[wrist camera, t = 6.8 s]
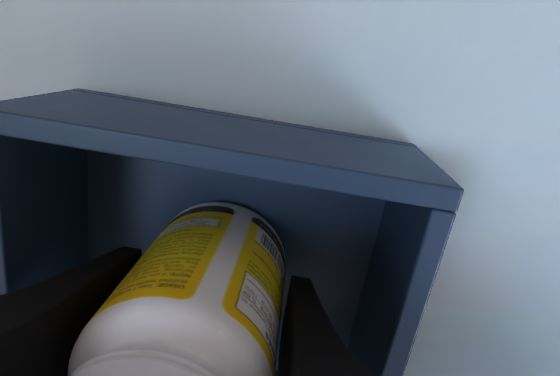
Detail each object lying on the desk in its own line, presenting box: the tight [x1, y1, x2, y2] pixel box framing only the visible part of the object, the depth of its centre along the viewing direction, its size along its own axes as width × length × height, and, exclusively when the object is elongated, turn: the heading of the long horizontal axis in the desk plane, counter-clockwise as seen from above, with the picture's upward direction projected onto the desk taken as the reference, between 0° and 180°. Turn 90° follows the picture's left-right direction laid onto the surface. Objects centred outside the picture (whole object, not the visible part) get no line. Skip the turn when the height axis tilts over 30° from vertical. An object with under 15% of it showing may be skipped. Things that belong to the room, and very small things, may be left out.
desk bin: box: [0, 89, 464, 376], centre depth 13 cm, size 11×12×5 cm
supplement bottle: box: [68, 202, 286, 376], centre depth 11 cm, size 5×5×8 cm
